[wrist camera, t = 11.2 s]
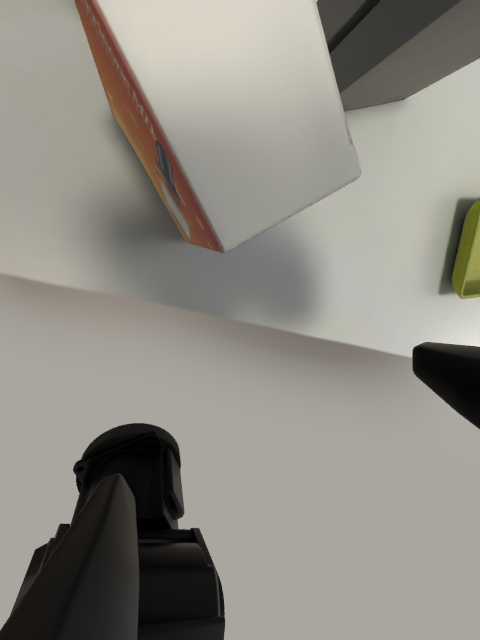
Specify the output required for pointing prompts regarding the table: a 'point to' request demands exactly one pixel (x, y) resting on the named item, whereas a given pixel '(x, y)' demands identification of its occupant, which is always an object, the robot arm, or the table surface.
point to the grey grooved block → (397, 45)
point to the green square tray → (468, 256)
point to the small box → (225, 108)
